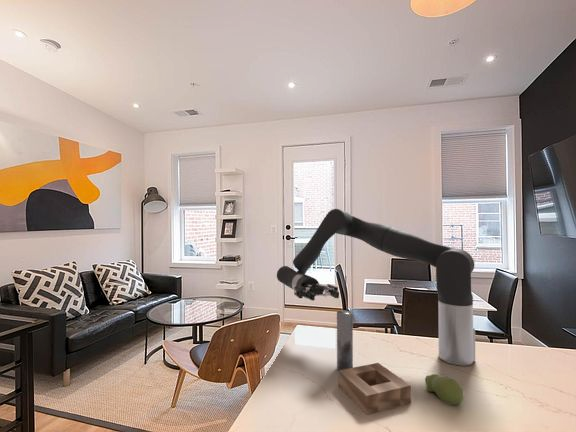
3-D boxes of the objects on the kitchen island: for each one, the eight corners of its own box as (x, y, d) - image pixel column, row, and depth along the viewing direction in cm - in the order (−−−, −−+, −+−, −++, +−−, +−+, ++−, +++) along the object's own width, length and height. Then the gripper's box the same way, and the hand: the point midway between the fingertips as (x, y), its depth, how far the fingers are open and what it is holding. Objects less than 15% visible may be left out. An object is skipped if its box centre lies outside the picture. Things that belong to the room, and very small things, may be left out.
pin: (347, 364, 89) (347, 309, 90) (355, 371, 85) (355, 314, 85) (334, 367, 88) (334, 311, 88) (342, 374, 84) (342, 315, 84)
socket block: (378, 377, 82) (378, 362, 82) (410, 402, 71) (410, 385, 71) (338, 386, 78) (338, 370, 78) (366, 414, 67) (366, 395, 67)
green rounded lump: (446, 384, 68) (418, 370, 78) (449, 410, 68) (420, 393, 77) (467, 381, 70) (437, 368, 79) (470, 406, 69) (439, 390, 78)
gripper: (287, 276, 110) (305, 285, 95) (322, 274, 115) (345, 282, 100) (286, 297, 110) (305, 310, 95) (322, 294, 115) (345, 306, 100)
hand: (325, 296), depth 97 cm, fingers open, 8 cm apart
